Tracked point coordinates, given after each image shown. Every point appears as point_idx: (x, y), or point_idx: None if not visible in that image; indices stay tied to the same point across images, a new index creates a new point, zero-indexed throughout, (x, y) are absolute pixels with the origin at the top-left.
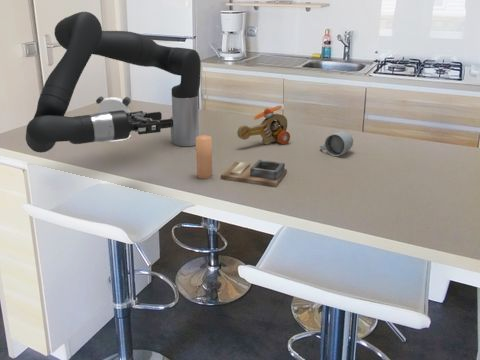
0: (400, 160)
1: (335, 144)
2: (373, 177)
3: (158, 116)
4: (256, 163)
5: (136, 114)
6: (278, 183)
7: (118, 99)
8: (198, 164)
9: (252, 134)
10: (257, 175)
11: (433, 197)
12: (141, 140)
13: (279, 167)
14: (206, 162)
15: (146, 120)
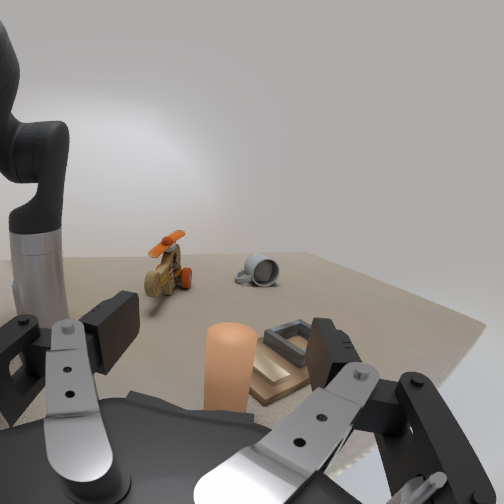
0: (307, 273)
1: (263, 271)
2: (342, 298)
3: (130, 321)
4: (281, 339)
5: (99, 421)
6: None
7: None
8: (230, 409)
9: (162, 284)
10: None
11: (396, 297)
12: None
13: None
14: (248, 394)
15: (341, 436)
